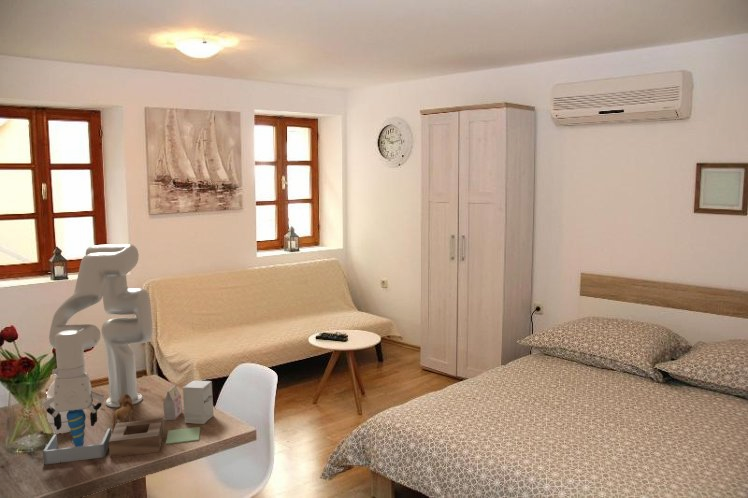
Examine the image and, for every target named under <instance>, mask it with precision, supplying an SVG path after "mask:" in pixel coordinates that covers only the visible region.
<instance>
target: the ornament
mask: <svg viewBox="0 0 748 498" xmlns="http://www.w3.org/2000/svg"><path fill="white" fill-rule="evenodd" d="M66 417H67V419H68V425H69V427H70V429H71V430H70V431H69V433H70V434H71V436H72V443H73V444H74V447H77V446H84V443H85V440H84V439H85V434H86V433H85V428H86V418H87V417H86V413H85V411H84V409H82V410H73V411H69V412H68V413H67V415H66Z"/></svg>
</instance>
